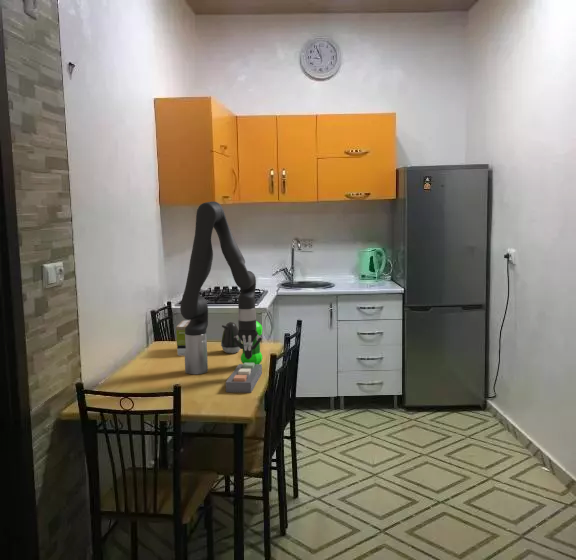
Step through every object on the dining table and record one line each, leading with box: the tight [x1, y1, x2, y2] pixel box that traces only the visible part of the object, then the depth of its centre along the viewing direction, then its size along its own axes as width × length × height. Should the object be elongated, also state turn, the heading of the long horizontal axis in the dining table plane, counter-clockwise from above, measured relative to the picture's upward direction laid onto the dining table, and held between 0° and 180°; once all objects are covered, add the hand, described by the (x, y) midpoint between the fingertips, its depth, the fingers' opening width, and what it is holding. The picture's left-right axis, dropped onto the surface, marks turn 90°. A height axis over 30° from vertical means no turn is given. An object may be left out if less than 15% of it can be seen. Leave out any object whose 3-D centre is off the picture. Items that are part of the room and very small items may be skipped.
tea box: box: [175, 320, 190, 357], centre depth 300 cm, size 15×10×15 cm, turn 178°
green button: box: [242, 363, 255, 369], centre depth 257 cm, size 4×4×3 cm
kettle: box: [220, 321, 242, 354], centre depth 297 cm, size 10×10×15 cm
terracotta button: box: [234, 375, 247, 382], centre depth 239 cm, size 4×4×3 cm
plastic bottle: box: [240, 320, 263, 364], centre depth 271 cm, size 10×10×25 cm
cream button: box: [238, 368, 251, 375], centre depth 248 cm, size 4×4×3 cm
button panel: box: [225, 363, 263, 394], centre depth 249 cm, size 10×26×4 cm, turn 173°
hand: (248, 358), depth 256 cm, fingers closed
